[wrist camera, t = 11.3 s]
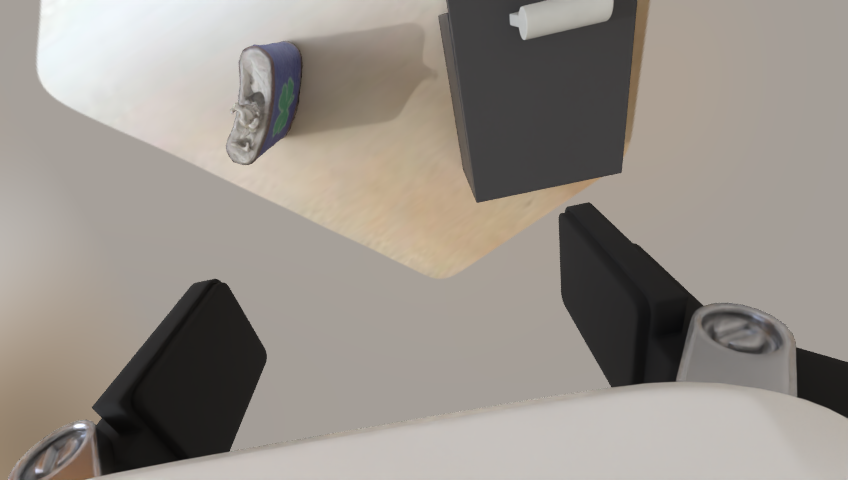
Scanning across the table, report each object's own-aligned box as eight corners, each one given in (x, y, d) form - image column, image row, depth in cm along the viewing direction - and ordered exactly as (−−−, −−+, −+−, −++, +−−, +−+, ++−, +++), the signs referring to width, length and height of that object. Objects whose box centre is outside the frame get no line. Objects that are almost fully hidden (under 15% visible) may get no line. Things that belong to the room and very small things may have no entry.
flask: (277, 36, 34) (230, 41, 24) (310, 49, 34) (276, 59, 25) (259, 133, 38) (213, 169, 29) (289, 144, 39) (253, 182, 29)
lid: (446, -1, 26) (456, 0, 21) (635, -47, 25) (688, -56, 20) (475, 199, 34) (487, 230, 29) (617, 169, 33) (652, 196, 29)
